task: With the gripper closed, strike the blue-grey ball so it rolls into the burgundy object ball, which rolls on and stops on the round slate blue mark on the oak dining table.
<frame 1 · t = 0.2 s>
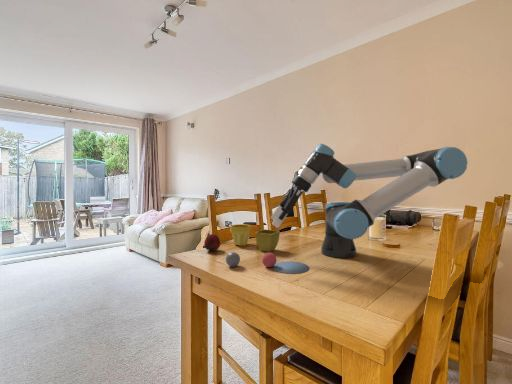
hand: (273, 222, 107), 16 cm above the table, tool tilted 35°, fingers open, 13 cm apart
plant pot: (240, 244, 138), on the table
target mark: (290, 267, 101), on the table
object ball: (269, 259, 102), on the table
flower pot: (267, 250, 126), on the table
blue-grey ball: (232, 259, 102), on the table
dark red bumpy ball: (212, 251, 125), on the table
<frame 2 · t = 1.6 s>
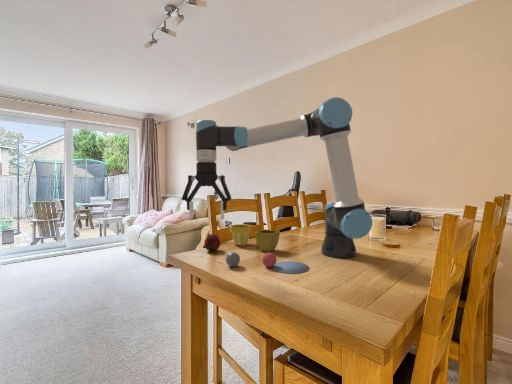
hand: (206, 218, 102), 18 cm above the table, tool pointing down, fingers open, 11 cm apart
nothing on the table moved.
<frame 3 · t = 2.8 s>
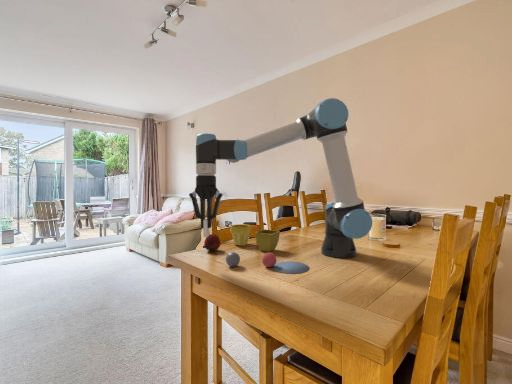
hand: (206, 236, 103), 12 cm above the table, tool pointing down, fingers closed
nothing on the table moved.
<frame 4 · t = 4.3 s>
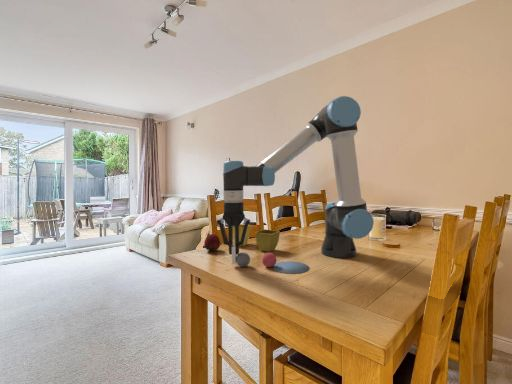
hand: (234, 262, 103), 2 cm above the table, tool pointing down, fingers closed
blue-grey ball: (243, 259, 102), on the table, touching gripper
everything else where it was.
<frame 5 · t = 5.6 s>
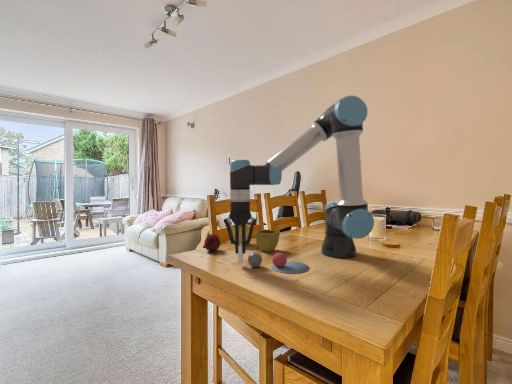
hand: (240, 261, 102), 2 cm above the table, tool pointing down, fingers closed
object ball: (279, 260, 101), on the table
blue-grey ball: (254, 259, 102), on the table
everything else where it was.
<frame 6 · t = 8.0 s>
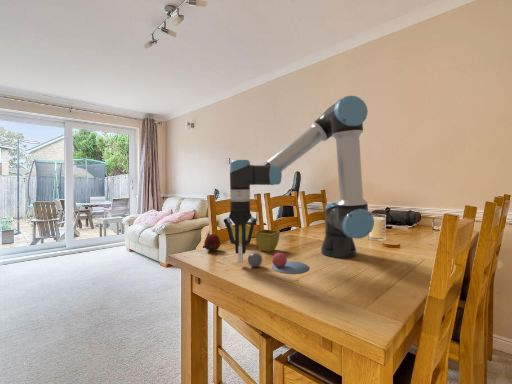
hand: (240, 261, 102), 2 cm above the table, tool pointing down, fingers closed
nothing on the table moved.
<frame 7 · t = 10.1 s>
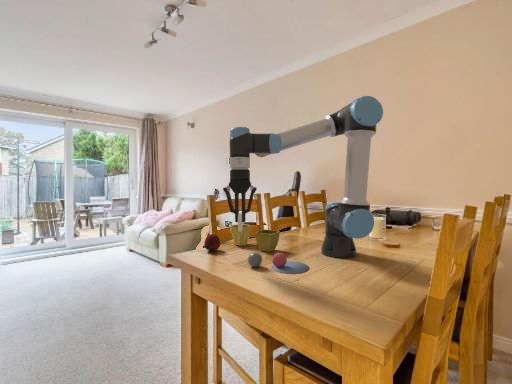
hand: (240, 230, 102), 14 cm above the table, tool pointing down, fingers closed
nothing on the table moved.
at the end: object ball 4.1 cm from the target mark (horizontally); object ball never touched the robot; blue-grey ball first touched object ball at 4.5 s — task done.
